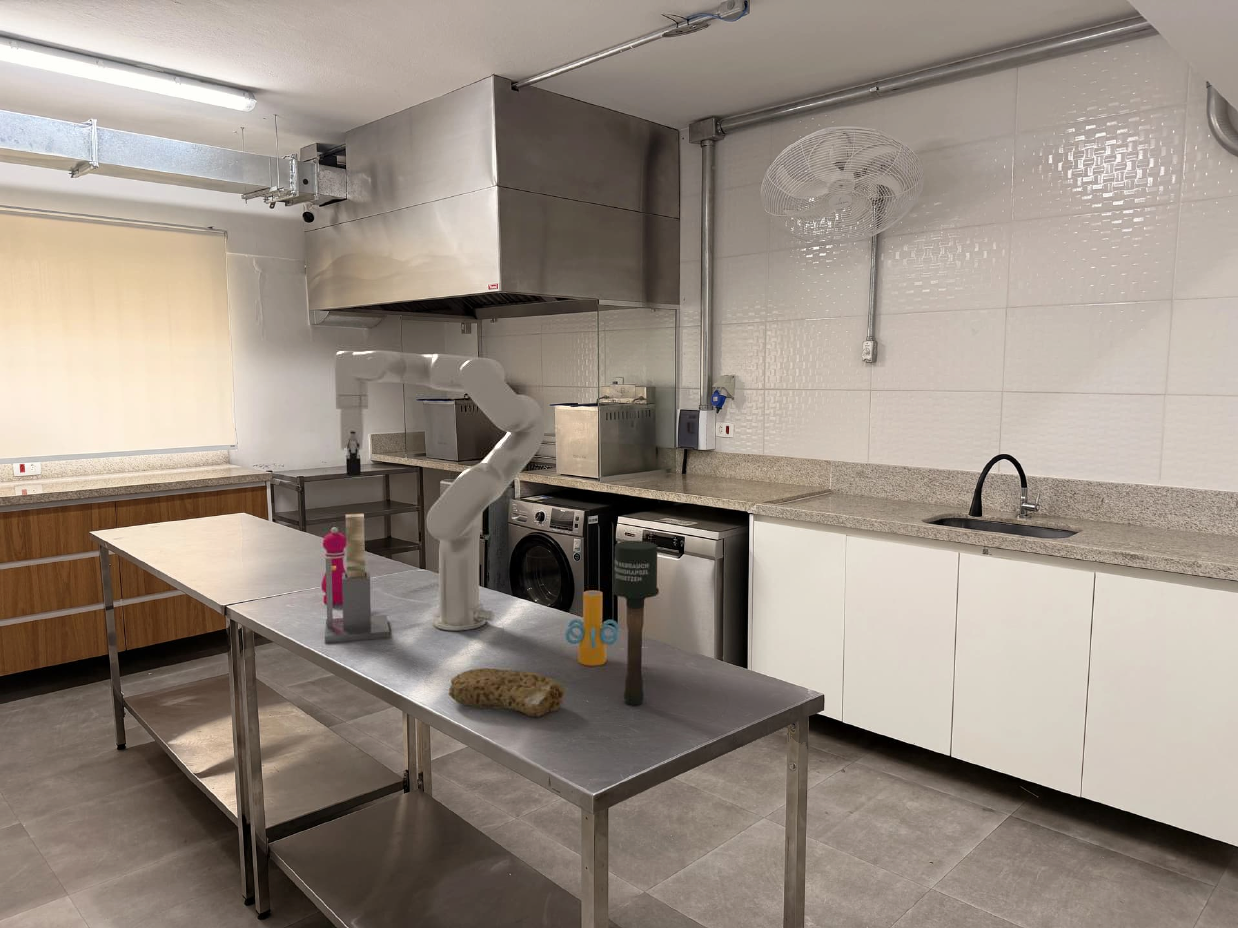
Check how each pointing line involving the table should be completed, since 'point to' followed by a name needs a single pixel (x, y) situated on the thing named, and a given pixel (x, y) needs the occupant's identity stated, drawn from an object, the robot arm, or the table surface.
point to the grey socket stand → (353, 611)
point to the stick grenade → (635, 604)
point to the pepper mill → (335, 564)
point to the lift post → (355, 545)
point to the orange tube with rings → (592, 631)
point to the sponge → (507, 690)
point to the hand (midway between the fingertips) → (353, 473)
